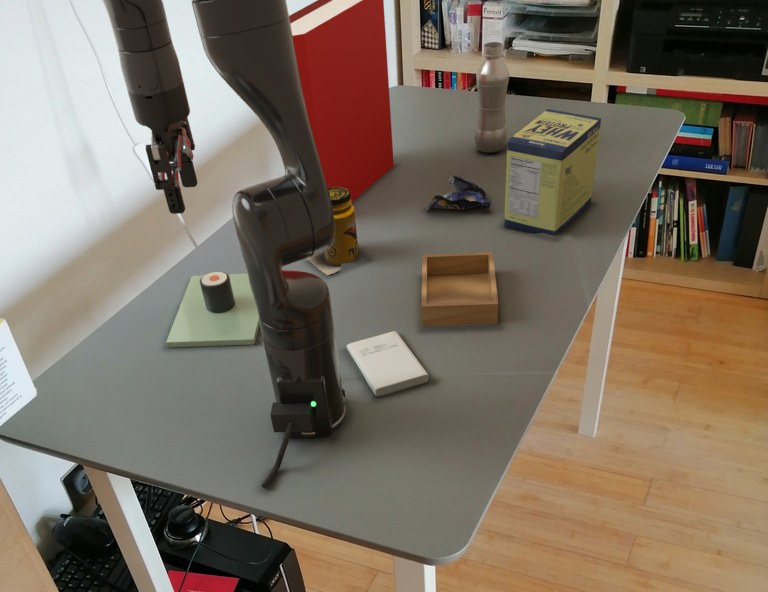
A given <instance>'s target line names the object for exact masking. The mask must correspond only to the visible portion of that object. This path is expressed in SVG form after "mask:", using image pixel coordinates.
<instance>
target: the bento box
mask: <svg viewBox="0 0 768 592" xmlns="http://www.w3.org/2000/svg"><path fill="white" fill-rule="evenodd" d="M494 257H495V256H494V251H482V252H460V253H459V252H458V253H436V254H435V253H433V254H422V255H421V305H420V307H421V323H422V324H421V327H444V326H445V327H447V326H471V325H497V324H498V322H499V321H498V320H499V297H498V287H497V277H496V268H495V267H496V266H495V258H494Z"/></svg>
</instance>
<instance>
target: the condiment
mask: <svg viewBox="0 0 768 592" xmlns="http://www.w3.org/2000/svg"><path fill="white" fill-rule="evenodd" d="M328 192H329V196H330V200H331V204H332V209H333V214H334V220H335V239H334V242H333V244H332V246H331V248H329V249H328V250H326V251H324V252H322V253H319V254H317V255H314V256H311V257H308V258H306V260H307V261H308V262H309V263H310V264H311V265H313V266H314V267H315V268H316V269H318V270H319V271H320V272H322V273H323V274H325V275H326V276H330V275H332V274H335V273H337V272H340V271H341V268H342V264H346V263H350V262H352V261H354V260H355V259H357V258H358V256H359V244H358V243H359V242H358V241H359V240H358V234H357V222H356V213H355V206H354V205H353V204H352V203H353V201H351V194H350V191H349V190H347V189H346V188H343V187H331V188H328Z"/></svg>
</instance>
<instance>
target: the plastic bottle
mask: <svg viewBox="0 0 768 592" xmlns="http://www.w3.org/2000/svg"><path fill="white" fill-rule="evenodd" d="M503 56H504V44H503V43H502V42H499V41H490V42H487V43H484V44H483V52H482V57H483V60H482V61H481V63H480V65H479V67H478V68H477V71H476V74H475V77H476V78H475V79H476V88H477V102H478V106H477V107H478V112H477V120H476V121H477V122H476V128H475V132H474V133H475V134H474V143H475V147H476V148H477V150H478V151H480V152H482V153H496V152H500V151H501V150H503V149H504V147H505V146H506V144H507V139H508V135H507V133H508V132H507V126H506V101H507V92H508V87H509V81H510V70H509V67H508V65H507V63H506V62H505V60H504V59H503Z"/></svg>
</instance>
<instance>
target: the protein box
mask: <svg viewBox="0 0 768 592" xmlns="http://www.w3.org/2000/svg"><path fill="white" fill-rule="evenodd" d="M601 123H602V118H601V117H596V116H591V115H590V116H589V115H584V114H579V113H574V112H573V113H572V112H566V111H561V110H555V109H550V108H547V109H546V110H544V111H543V112H542V113H540V114H539V115H538V116H537V117H536V118H535V119H533V120H532V121H531V122H529V123H528V124H527V125H526V126H523V128H522V129H520V130H519V131H518V132H516V133H515V134H514V135H513V136H511V137H510V138H508V140H507V141H506V144H507V146H506V168H505V169H506V171H505V194H504V195H505V197H504V221H503V223H504V224H503V225H504V226H503V227H506V228H510V229H513V230H518V231H522V232H525V233H530V234H545V235H549V236H553V237H554V236H557V235H558V234H559V233H562V232H563V231H565V230H566V229H567V228H568V227H569V226H570V225H571V224H572V223H573V222H574V221H575V220H576V219H577V218H578V217H579V216H580V215H582V213H584V211H585V210H586V209H588V207H590V205H591V204H592V199H593V190H594V182H595V174H596V167H597V157H598V150H599V141H600V140H599V139H600V131H601Z"/></svg>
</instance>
